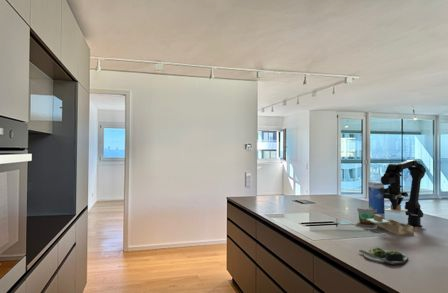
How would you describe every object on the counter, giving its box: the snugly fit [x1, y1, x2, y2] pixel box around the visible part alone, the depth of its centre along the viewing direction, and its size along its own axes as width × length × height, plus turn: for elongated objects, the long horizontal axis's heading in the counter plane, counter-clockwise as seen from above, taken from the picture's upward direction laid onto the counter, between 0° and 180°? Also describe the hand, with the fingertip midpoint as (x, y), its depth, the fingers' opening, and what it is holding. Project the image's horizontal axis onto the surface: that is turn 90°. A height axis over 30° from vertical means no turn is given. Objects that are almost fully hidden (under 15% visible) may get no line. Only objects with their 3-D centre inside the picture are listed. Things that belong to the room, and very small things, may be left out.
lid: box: [384, 203, 408, 214], centre depth 189 cm, size 10×9×4 cm
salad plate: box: [358, 247, 409, 266], centre depth 139 cm, size 19×18×5 cm
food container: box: [356, 207, 377, 226], centre depth 204 cm, size 12×6×10 cm, turn 62°
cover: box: [366, 214, 390, 224], centre depth 191 cm, size 10×9×4 cm
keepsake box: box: [376, 218, 415, 236], centre depth 187 cm, size 10×20×4 cm, turn 6°
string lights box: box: [367, 180, 386, 219], centre depth 227 cm, size 13×8×26 cm, turn 171°
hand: (395, 209), depth 189 cm, fingers closed on lid, 2 cm apart
